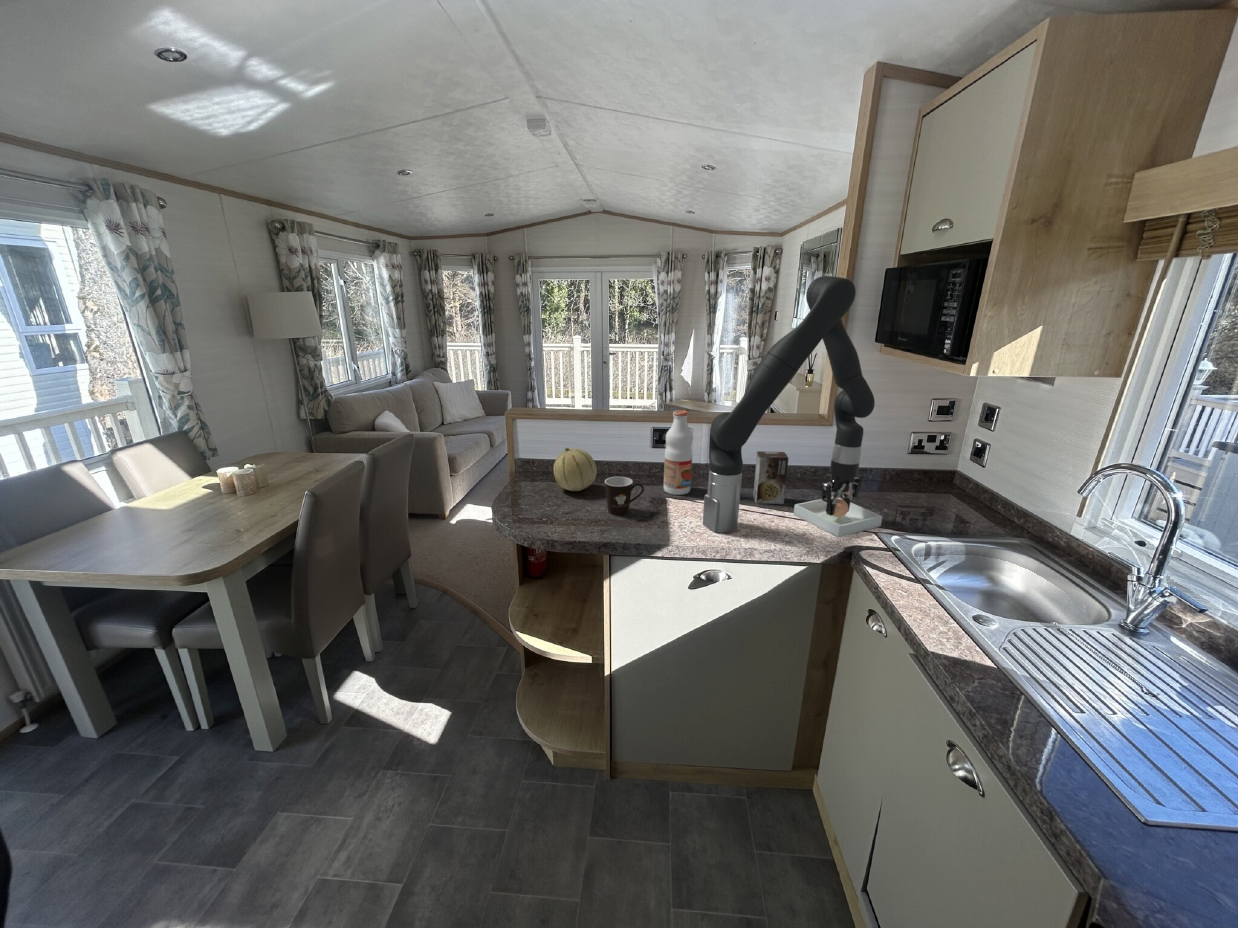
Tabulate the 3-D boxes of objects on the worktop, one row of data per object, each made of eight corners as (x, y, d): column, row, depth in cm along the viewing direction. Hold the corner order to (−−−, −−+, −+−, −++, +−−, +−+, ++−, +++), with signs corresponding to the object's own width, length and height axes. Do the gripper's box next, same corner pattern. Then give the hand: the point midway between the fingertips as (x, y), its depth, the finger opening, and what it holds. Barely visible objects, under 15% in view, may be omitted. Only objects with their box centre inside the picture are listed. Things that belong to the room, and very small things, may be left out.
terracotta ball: (837, 521, 146) (840, 504, 145) (823, 514, 151) (825, 497, 149) (850, 518, 148) (853, 501, 147) (836, 511, 153) (838, 494, 152)
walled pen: (837, 537, 139) (839, 526, 138) (793, 514, 154) (794, 504, 153) (880, 526, 146) (882, 516, 145) (834, 505, 161) (835, 496, 160)
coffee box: (779, 497, 168) (785, 451, 163) (784, 504, 162) (789, 457, 157) (752, 496, 169) (756, 450, 164) (755, 503, 163) (760, 456, 158)
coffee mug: (601, 515, 153) (601, 484, 150) (608, 504, 161) (608, 475, 158) (638, 519, 150) (639, 488, 147) (643, 508, 158) (644, 478, 155)
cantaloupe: (598, 496, 167) (598, 454, 163) (554, 498, 165) (552, 455, 161) (594, 481, 181) (594, 441, 176) (553, 483, 179) (552, 443, 175)
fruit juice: (666, 484, 179) (669, 407, 170) (692, 487, 176) (696, 409, 168) (660, 493, 170) (663, 413, 161) (688, 496, 168) (692, 415, 159)
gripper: (837, 466, 138) (829, 521, 143) (874, 459, 144) (864, 513, 149) (817, 458, 145) (809, 512, 150) (852, 452, 150) (844, 504, 156)
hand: (837, 512), depth 149 cm, fingers closed on terracotta ball, 5 cm apart
